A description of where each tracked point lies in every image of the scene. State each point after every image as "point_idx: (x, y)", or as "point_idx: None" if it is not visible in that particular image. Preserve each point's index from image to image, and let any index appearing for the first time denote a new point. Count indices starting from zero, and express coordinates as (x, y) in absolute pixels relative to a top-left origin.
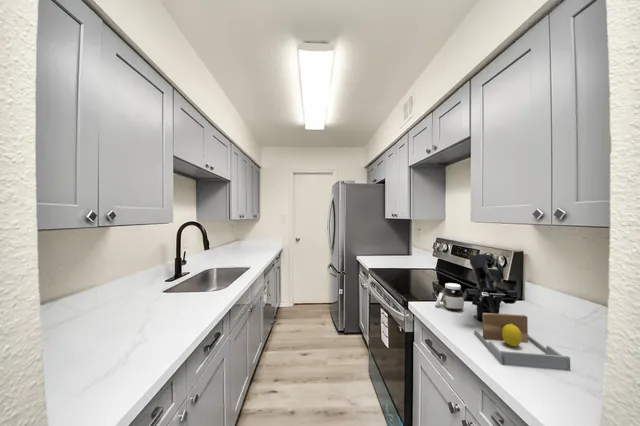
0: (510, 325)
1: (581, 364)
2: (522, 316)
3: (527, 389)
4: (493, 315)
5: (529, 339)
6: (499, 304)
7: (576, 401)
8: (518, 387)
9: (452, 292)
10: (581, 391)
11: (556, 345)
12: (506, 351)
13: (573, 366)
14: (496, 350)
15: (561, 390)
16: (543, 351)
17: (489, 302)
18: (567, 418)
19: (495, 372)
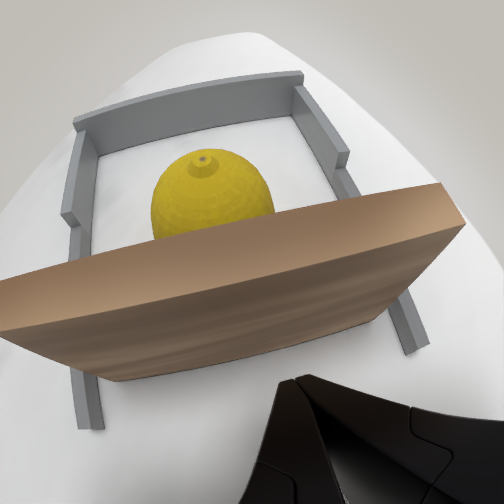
0: (216, 156)
1: (24, 215)
2: (29, 277)
3: (253, 61)
4: (362, 199)
5: (89, 375)
6: (253, 496)
7: (170, 64)
8: (270, 61)
9: None
10: (135, 89)
11: (3, 364)
12: (284, 76)
13: (57, 189)
14: (315, 104)
15: (178, 77)
16: (87, 254)
17: (493, 421)
18: (214, 38)
19: (316, 84)
